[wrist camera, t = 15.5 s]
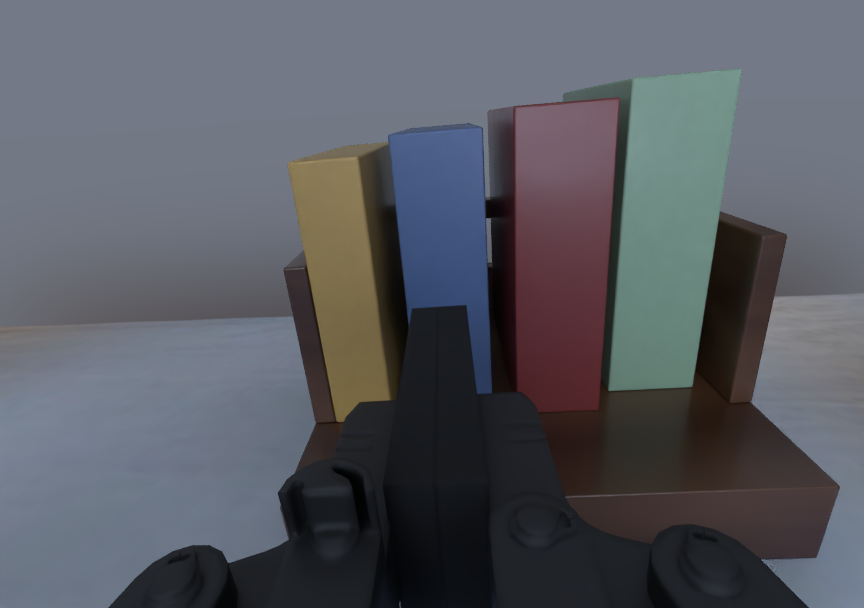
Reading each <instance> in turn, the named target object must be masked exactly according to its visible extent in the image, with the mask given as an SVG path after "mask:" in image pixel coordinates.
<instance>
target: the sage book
mask: <svg viewBox="0 0 864 608" xmlns="http://www.w3.org/2000/svg"><path fill="white" fill-rule="evenodd" d="M741 74H742V70H741V69H732V70H720V71H709V72H699V73H698V72H697V73H686V74H675V75H664V76H653V77H641V78H632V79H628V80H624V81H618V82H614V83H609V84H604V85H599V86H594V87H590V88H585V89H580V90H576V91H571V92H567V93H564V94H563V102H568V101H580V100H591V99H603V98H614V97H619V98H620V108H619V123H618V137H617V152H616V166H615V181H614V195H613V210H612V225H611V239H610V254H609V268H608V283H607V298H606V312H605V327H604V341H603V356H602V370H601V379H602V381H603V382H604V384H605V386H606V387H607V389H608V391H625V390H646V389H666V388H687V387H692V386H693V380H694V374H695V367H696V361H697V355H698V348H699V342H700V335H701V329H702V323H703V316H704V310H705V304H706V297H707V291H708V284H709V278H710V272H711V265H712V259H713V252H714V246H715V240H716V233H717V227H718V221H719V214H720V208H721V201H722V195H723V189H724V181H725V176H726V169H727V163H728V156H729V150H730V143H731V137H732V131H733V125H734V118H735V112H736V105H737V99H738V92H739V86H740V80H741Z"/></svg>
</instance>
